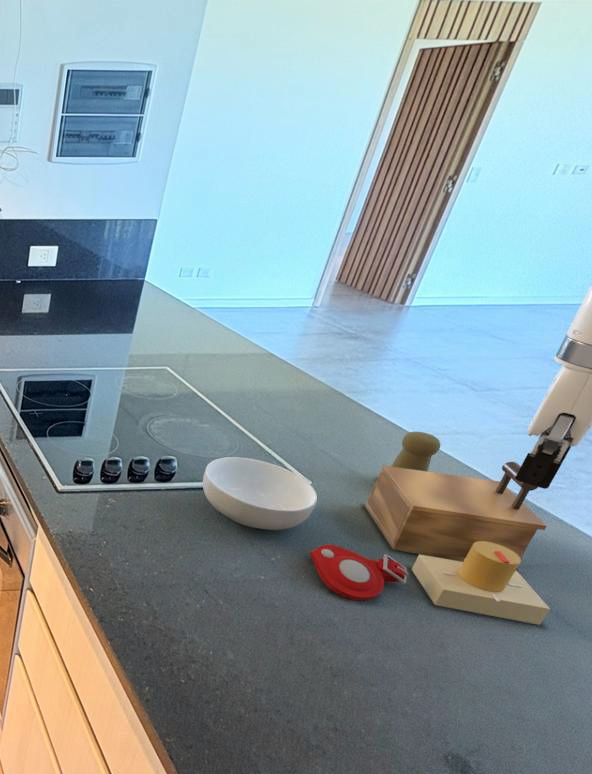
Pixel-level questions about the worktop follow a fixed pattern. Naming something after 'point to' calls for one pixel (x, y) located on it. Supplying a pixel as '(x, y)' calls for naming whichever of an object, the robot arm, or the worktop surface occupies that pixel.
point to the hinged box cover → (466, 495)
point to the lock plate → (478, 592)
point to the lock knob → (489, 566)
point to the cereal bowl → (258, 493)
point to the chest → (436, 527)
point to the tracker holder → (355, 572)
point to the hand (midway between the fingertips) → (538, 471)
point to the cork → (417, 451)
